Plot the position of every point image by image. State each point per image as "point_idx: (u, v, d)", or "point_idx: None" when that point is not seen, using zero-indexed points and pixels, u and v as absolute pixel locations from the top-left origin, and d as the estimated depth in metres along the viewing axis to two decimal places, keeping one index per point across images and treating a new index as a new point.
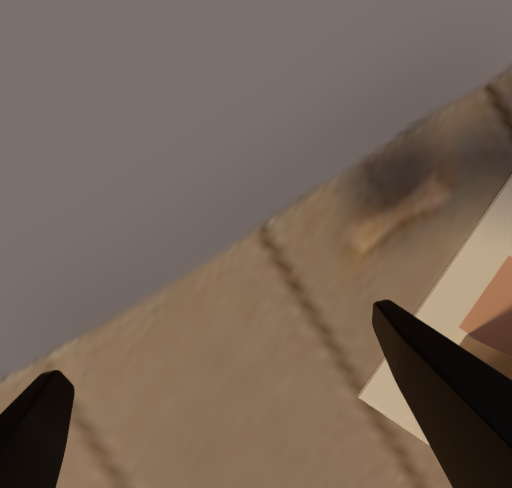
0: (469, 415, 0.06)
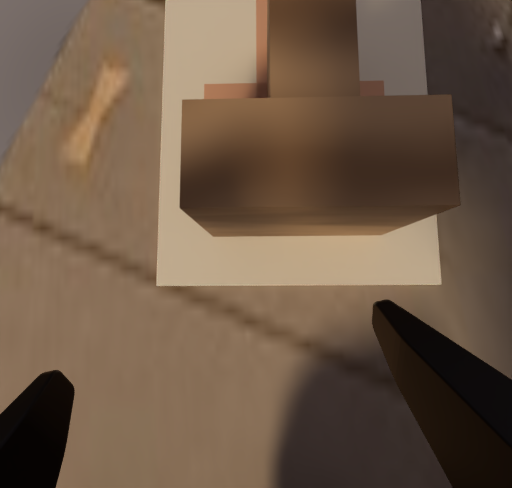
0: (469, 415, 0.06)
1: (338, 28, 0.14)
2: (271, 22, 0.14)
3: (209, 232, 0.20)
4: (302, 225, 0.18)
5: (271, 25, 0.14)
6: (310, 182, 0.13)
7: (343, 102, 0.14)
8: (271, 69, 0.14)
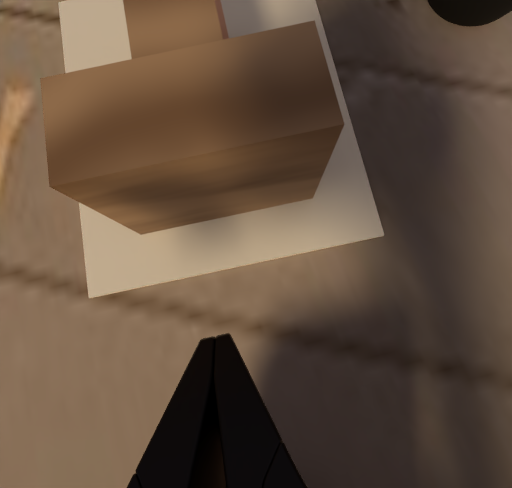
0: None
1: None
2: None
3: (129, 227, 0.19)
4: (214, 195, 0.17)
5: None
6: (184, 133, 0.13)
7: (206, 48, 0.13)
8: (128, 32, 0.14)
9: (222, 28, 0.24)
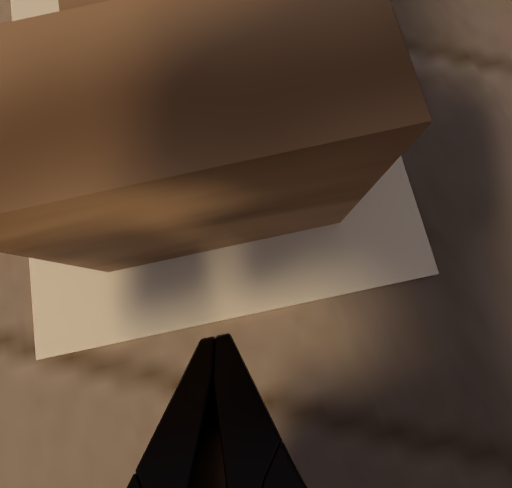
0: None
1: None
2: None
3: (87, 267, 0.14)
4: (205, 227, 0.12)
5: None
6: (146, 137, 0.07)
7: None
8: None
9: None
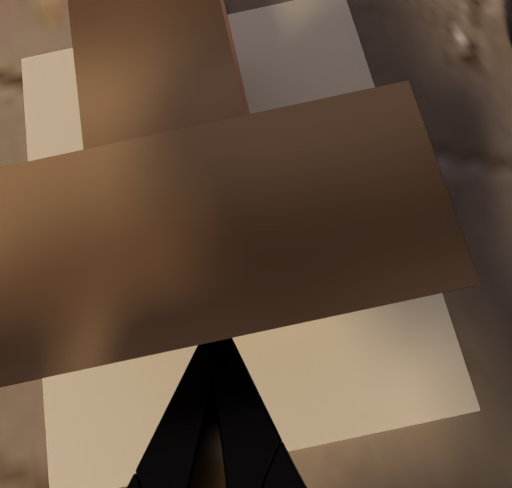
0: None
1: (188, 10, 0.08)
2: (73, 22, 0.08)
3: None
4: None
5: (74, 27, 0.08)
6: (176, 296, 0.07)
7: (217, 131, 0.07)
8: (79, 99, 0.08)
9: None
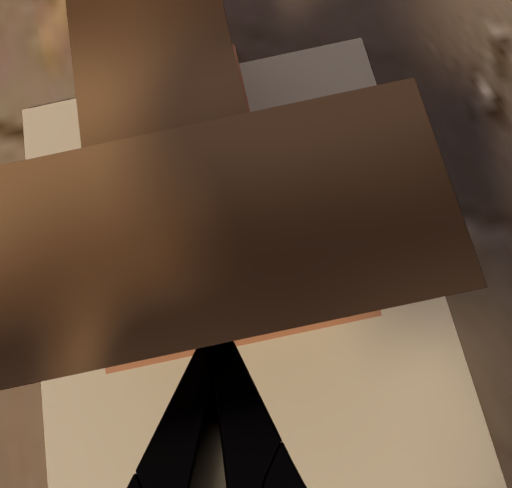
0: None
1: (189, 5, 0.08)
2: (70, 17, 0.08)
3: None
4: None
5: (71, 22, 0.08)
6: (175, 299, 0.07)
7: (218, 130, 0.07)
8: (77, 96, 0.08)
9: None
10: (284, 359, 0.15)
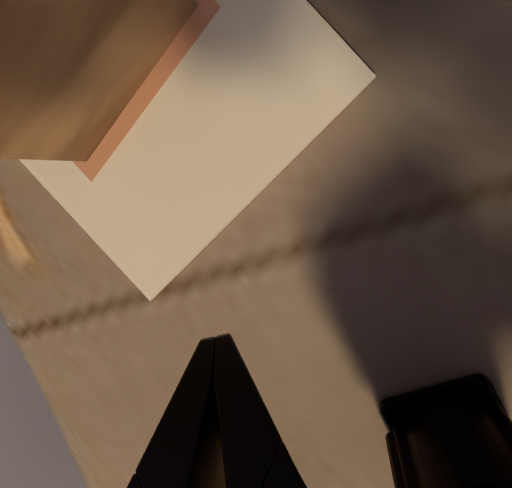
0: None
1: None
2: None
3: (63, 159, 0.19)
4: (82, 71, 0.15)
5: None
6: None
7: None
8: None
9: None
10: (177, 94, 0.19)
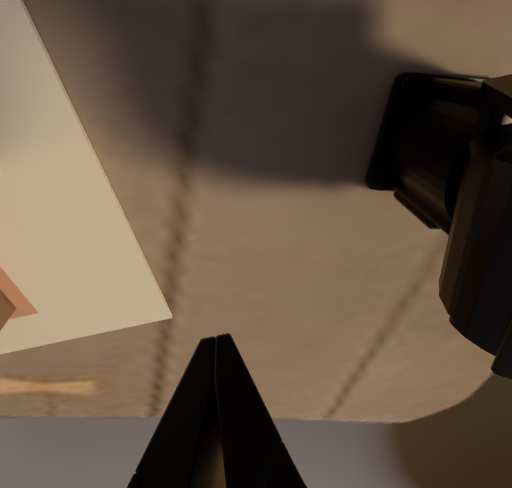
0: None
1: None
2: None
3: None
4: None
5: None
6: None
7: None
8: None
9: None
10: None
